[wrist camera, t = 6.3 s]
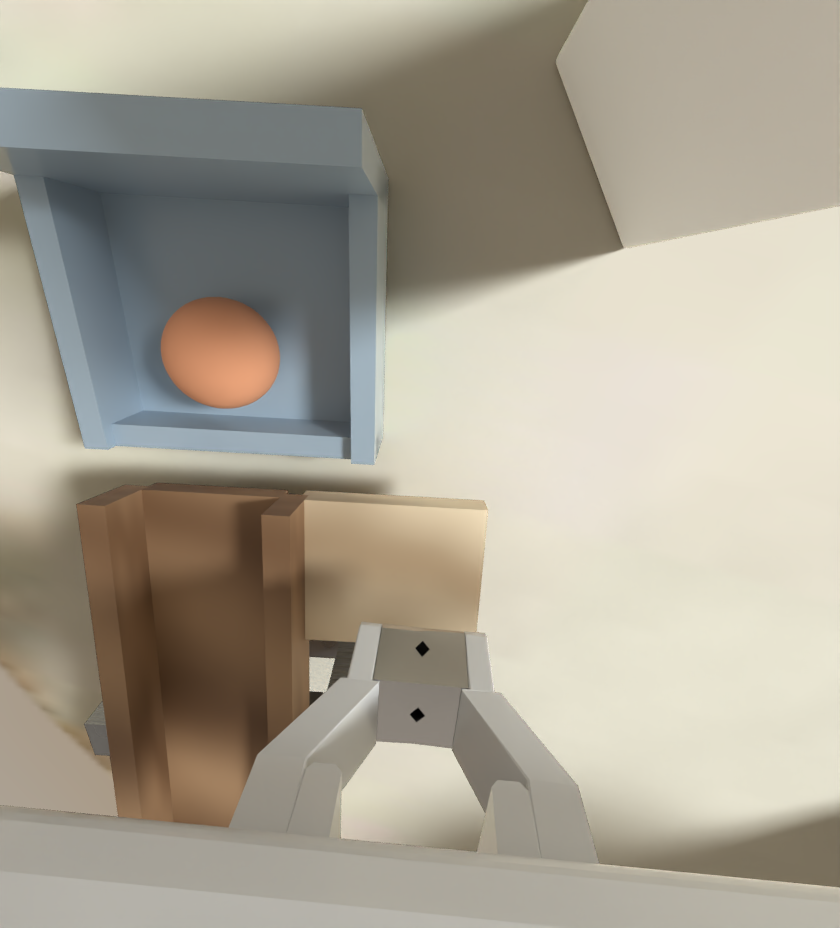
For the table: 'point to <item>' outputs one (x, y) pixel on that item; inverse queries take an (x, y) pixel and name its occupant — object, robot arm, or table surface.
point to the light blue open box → (207, 260)
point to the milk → (707, 110)
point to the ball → (220, 352)
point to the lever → (248, 618)
